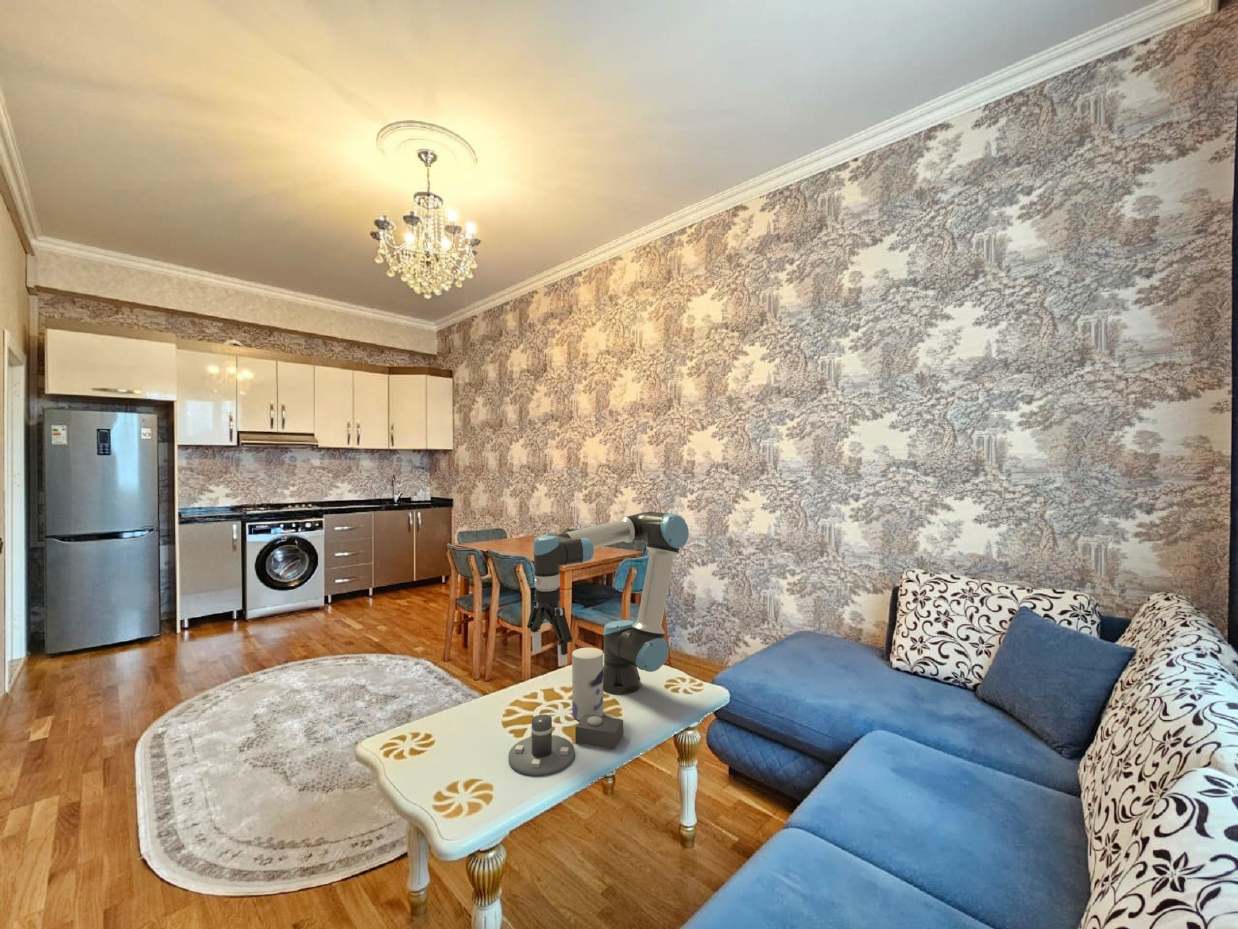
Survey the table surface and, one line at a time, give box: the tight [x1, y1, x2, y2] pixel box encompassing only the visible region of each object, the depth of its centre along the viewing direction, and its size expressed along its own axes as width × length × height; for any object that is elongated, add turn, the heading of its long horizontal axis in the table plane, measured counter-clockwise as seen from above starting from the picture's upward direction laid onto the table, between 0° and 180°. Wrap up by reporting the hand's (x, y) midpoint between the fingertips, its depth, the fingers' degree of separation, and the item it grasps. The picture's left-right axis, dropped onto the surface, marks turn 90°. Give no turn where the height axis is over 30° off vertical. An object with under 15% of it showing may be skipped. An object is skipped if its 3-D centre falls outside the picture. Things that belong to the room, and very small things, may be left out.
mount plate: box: [508, 734, 575, 777], centre depth 140 cm, size 18×18×2 cm
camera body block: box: [575, 714, 624, 750], centre depth 149 cm, size 12×8×6 cm, turn 73°
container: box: [571, 647, 604, 721], centre depth 164 cm, size 10×10×20 cm
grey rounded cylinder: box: [530, 714, 553, 758], centre depth 140 cm, size 6×6×9 cm
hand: (549, 658), depth 153 cm, fingers open, 13 cm apart
